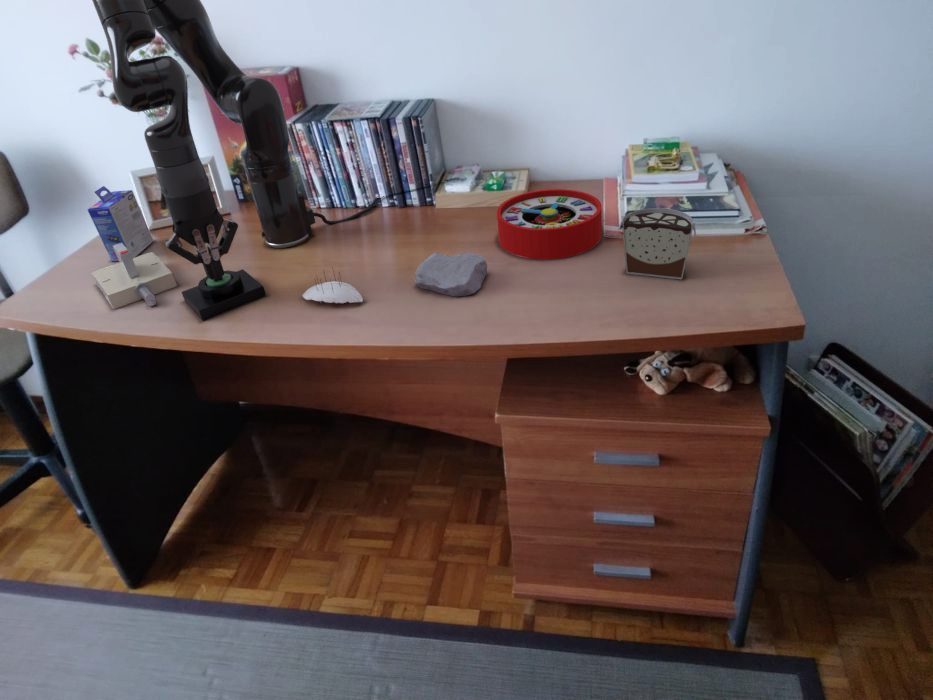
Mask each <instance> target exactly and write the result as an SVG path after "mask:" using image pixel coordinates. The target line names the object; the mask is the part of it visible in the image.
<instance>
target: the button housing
mask: <svg viewBox="0 0 933 700" xmlns="http://www.w3.org/2000/svg"><path fill="white" fill-rule="evenodd" d="M224 274H229V275H231V278H232V280H231V281H230V282H228V283H227V284H224V285H221V286H216V287H208V286H207V283H206V281H207V280H208V279H209V277H208V276H207V275H206V276H205V277H203V278H202V279H200V280H199V282H198V284H197V285H196V286H193V287H191V288H188V289H185V290H183V291H181V295H182V298H183V300H184V302H185V304H187V306H188V307H189V308H190V309H191V310H192V312H194V313H195V314H196V316H197V317H198V318H200V320H201V321H202V322H205V321H208V320H209V319H212V318H215V317H217V316H220V315H222V314H225V313H228V312H229V311H233V310H235V309H237V308H240V307H242V306H245V305H248V304H250V303H253V302H255V301H258V300H261V299H262V298H265V297H267V293H266V290H265V288H264V285H263V284H262V283H260V281H258V280H256V279H255V278H254V277H253V276H252V275H250V274H249V272H247V271H246V270H245V269H244V268H243V269H239V270H236V271H235V270H224Z"/></svg>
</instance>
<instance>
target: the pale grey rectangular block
mask: <svg viewBox="0 0 933 700" xmlns="http://www.w3.org/2000/svg"><path fill="white" fill-rule="evenodd" d="M113 248H114V251H115V253H116V255H117V258H118V260H119V261H118V263H120V265H121V267H122V269H123V270H124V271H125V273H126V274H127V275H128V276H129V278H130V279H131V278H134V277H137V276H140V275H139V273H138V270H137V268H136V265H135V263H134V261H133V258H132V256H131V253H130V252H129V251H128V249H127V248H126V247H125V246H124V245H123V244H122V243H119V244H116V245H113Z"/></svg>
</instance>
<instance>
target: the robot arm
mask: <svg viewBox="0 0 933 700" xmlns="http://www.w3.org/2000/svg"><path fill="white" fill-rule="evenodd" d="M92 3H93V6H94V9H95V11H96V14H97V16H98V19H99V22H100V24H101V27H102V30H103V33H104V34H105V39H106V42H107V46H108V50H109V51H108V52H109V57H110V65H111V78H112V88H113V92H114V96H115V97H116V100H117V101H118V102H119V104H120V105H121V106H122V107H123V108H124V109H126V110H128V111H129V112H133V113H141V112H145V111H151V110H156V109H160V108H164V107H169V109H168V110H169V111H168V112H167V116H165V117H164V118H163V119H161V120H159V121H157V122H155V123H153V124H151V125H149V126H148V127H147V128H145V130H144V133H143V136H144V141H145V143H146V146H147V148H148V152H149V154H150V157H151V160H152V163H153V166H154V169H155V174H156V178H157V181H158V184H159V187H160V190H161V192H162V195H163V198H164V200H165V203H166V206H167V209H168V211H169V214H170V217H171V220H172V232H173V233H172V235H171V236H170V238H169V239H166V240H165V241H164V245H165V247H167V248H168V249H169V250H170V251H171V252H173V253H175V254H177V255H178V256H179V257H181V258H183V259H185V260H187V261H189V262H190V263H192V264H193V265H199V264H202V267H203V269H204V272H205V275H206V276H208V277H209V278H210V279H211V280H214V281H218V280H221V279H223V278H222V276H223V275H224V271H225V270H224V267H223V264H222V260H221V258H222V257H223V256H224V255H227V254H228V253H229V251H230V250H231V249H230V248H231V246H232V244H233V241H234V238H235V236H236V233H237V230H238V228H239V224H238V223H237V222H236V221H234V220H233V219H231V218H229V219H227V218H224V216H223V215H222V214H221V212H220V211H219V210H218V206H217V203H216V200H215V197H214V194H213V191H212V187H211V185H210V178H209V177H208V175H207V172H206V170H205V167H204V164H203V163H202V161H201V158H200V156H199V152H198V150H197V145H196V143H195V140H194V136H193V133H192V128H191V124H190V117H189V90H188V89H189V88H188V78H187V75H186V72H185V70H184V68H183V66H182V64H180V63H179V61H177V60H176V59H175V58H173V57H171V56H170V55H159V56H154V57H149V58H144V59H138V60H133V61H130V60H129V59H130V57H131V55H132V54H133V53H134V52H136V51H137V50H139V49H141V48H144V47H146V46H148V45H150V44H151V43H152V42H154V40H155V39H156V37H157V36H156V32H157V33H158V34H159V36H161V38H162V39H163V40H164V41H165V42H166V43H167V44H168V46H169V47H170V48H171V49H172V50H173V51H174V53H175V54H176V55H177V56H178V57H179V58H180V59H181V60H182V62H183V63H185V64H186V66H188V68H189V69H190V70H191V71H192V72H193V75H195V76H196V78H197V79H198V81H199V82H200V83H201V85H202V87H204V89H205V90H206V92H207V93H208V95H209V96H210V98H211V99H212V101H213V102H214V104H215V105H216V106H217V108H218V109H219V110H220V112H221V113H222V114H223V115H224V117H226V118H227V119H228V121H231V122H232V123H233V124H236V125H238V126H241V127H242V130H243V134H244V139H245V146H244V147H242V149H241V150H240V157H241V158H240V159H241V161H242V165H243V168H244V172H245V176H246V178H247V183H248V186H249V189H250V193H251V196H252V200H253V204H254V205H255V210H256V212H257V216H258V220H259V223H260V226H261V229H262V232H261V237H262V239H264V241H265V242H264V243H265V245H266V246H267V247H268V248H271V249H287V248H292V247H295V246H296V247H297V246H298V245H301V244H302V243H305V242H306V241H307V240H308V239H309V238H312V237H313V236H314V233H313V229H312V225H314V224H316V219H315V218H316V217H317V218H320V219H321V220H322V222H323V223H324V224H326V225H330V226H331V225H336V224H339V223H345V222H348V221H351V220H355V219H357V218H359V217H361V216H363V215H365V214H366V213H369V212H370V211H371V210H372V209H373V208H374V207H375V206H376V204H377V203H378V201H379V200H382V198H376V197H375V198H374V199H373V200H372V202H371V203H370V205H369V206H368V207H366V208H365V209H362V210H361V211H359V212H357V213H354V214H353V215H350V216H349V217H346V218H344V219H339V220H328V219H327V218H326V217H325V215H323V214H322V213H320V212H315V211H314V210H313V209H312V208H310V207H308V206H307V205H306V200H305V197H304V194H303V193H302V192H300V191H299V188H298V187H299V186H298V184H297V179H296V175H295V172H294V168H293V164H292V160H291V156H290V151H289V147H290V146H289V145H290V133H289V130H288V124H287V119H286V115H285V110H284V106H283V102H282V99H281V95H280V93H279V91H278V89H277V88H276V86H275V85H274V84H273V83H272V82H271V81H269V80H268V79H266V78H263V77H259V76H254V75H247V74H246V73H244V71H243V70H241V69H240V67H239V66H238V65H237V64H236V63H235V62H234V60H232V59H231V57H230V56H229V55H228V53H227V52H226V50H224V48H223V47H222V45H221V44H220V41H219V40H218V38H217V35H216V32H215V30H214V27H213V24H212V21H211V19H210V17H209V15H208V12H207V10H206V7H205V6H204V4H203V3H202V1H201V0H92ZM221 230H222V233H221V235H220V232H221ZM219 235H220V238H219V241H218V240H217V239H218V237H219ZM180 239H181V240H183V241H184V242H185V243H188V244H189V245H191V246H193V248H194V250H195V251H196V253H197V254H196V253H193V252H191V251H190V250H187V248H184V247H183V242H182V241H181V240H180Z"/></svg>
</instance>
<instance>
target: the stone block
mask: <svg viewBox="0 0 933 700" xmlns="http://www.w3.org/2000/svg"><path fill="white" fill-rule="evenodd" d="M487 273H488V263H487V260H486V259H485V257H484V256H483V255H479V254H477V253H472V252H471V253H459V254H457V255H449V254H447V255H446V254H445V255H444V254H443V253H440V252H433V253H432V254H430V255H429V256H428V257H426V258H425V259H424V260H423V261H422V262H421V263H420V264H419V266H418V267H417V269H416V271H415V273H414V284H415V285H416V286H417V287H419V288H421V289H424V290H428V291H433V292H435V293H437V294H442V295H447V296H450V297H456V298H457V297H459V298H460V297H464V296H465V297H467V296H470V295H473V294H475V293H477V292H478V290H480V289H481V287H482V285H483V282H484V281H485V278H486V276H487Z"/></svg>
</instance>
